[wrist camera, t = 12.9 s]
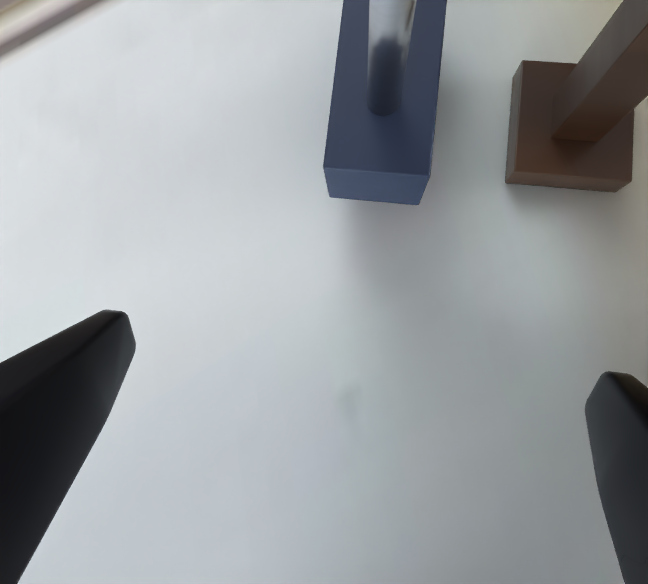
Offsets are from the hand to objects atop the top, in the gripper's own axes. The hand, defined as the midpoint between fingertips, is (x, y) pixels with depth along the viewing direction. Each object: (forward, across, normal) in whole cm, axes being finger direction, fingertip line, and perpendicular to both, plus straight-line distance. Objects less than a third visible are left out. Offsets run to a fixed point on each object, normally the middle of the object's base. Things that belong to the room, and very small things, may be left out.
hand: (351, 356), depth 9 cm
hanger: (+13, 0, -2) cm, 13 cm away
